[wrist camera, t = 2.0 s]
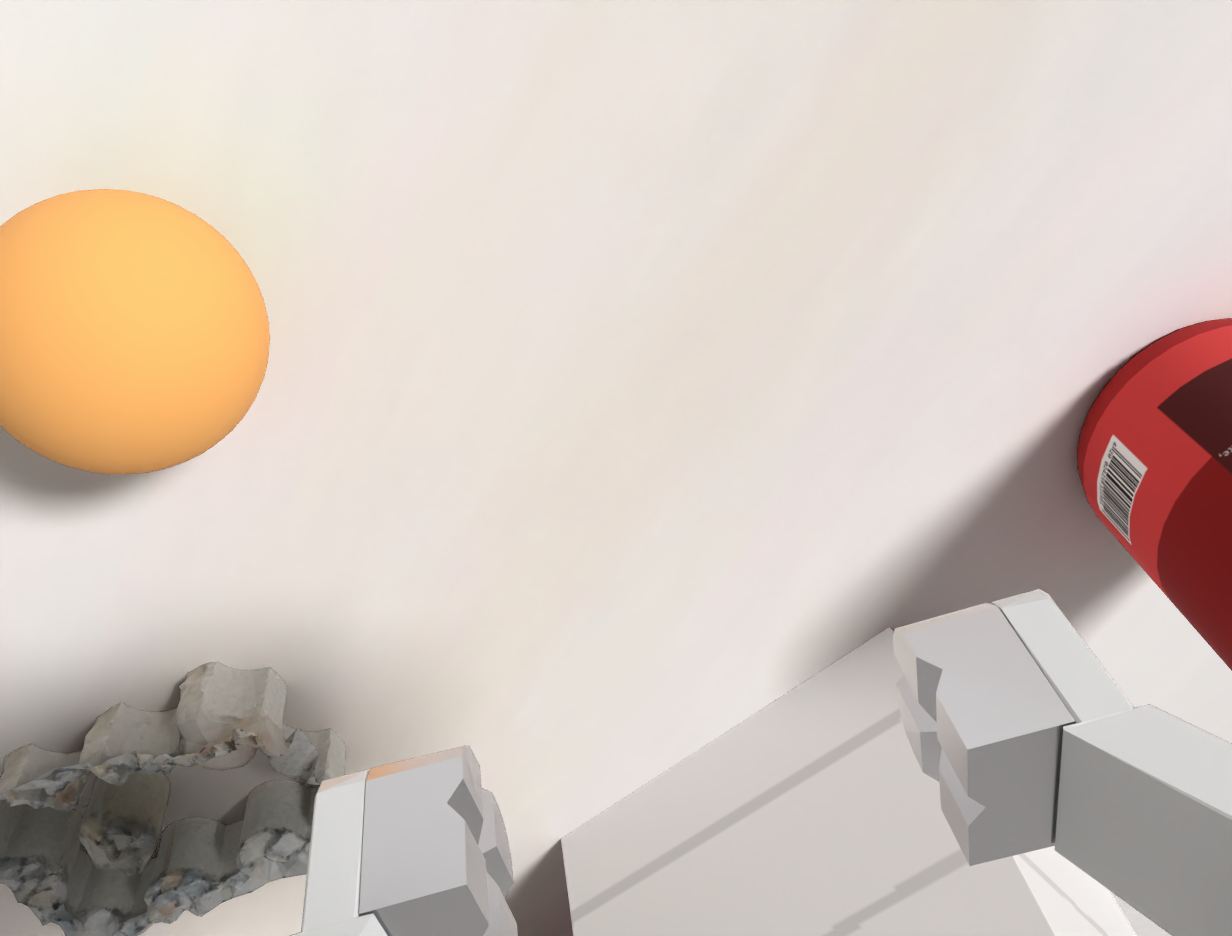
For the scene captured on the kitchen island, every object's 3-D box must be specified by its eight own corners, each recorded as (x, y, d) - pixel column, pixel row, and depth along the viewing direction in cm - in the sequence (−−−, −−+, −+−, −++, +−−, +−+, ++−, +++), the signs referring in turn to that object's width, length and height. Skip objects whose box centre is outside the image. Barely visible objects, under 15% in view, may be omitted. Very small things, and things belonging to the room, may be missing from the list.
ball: (-45, 190, 23) (-172, 309, 18) (218, 119, 23) (164, 219, 18) (92, 412, 26) (18, 563, 21) (321, 351, 26) (298, 487, 21)
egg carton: (261, 628, 32) (244, 730, 28) (379, 768, 36) (376, 871, 33) (-43, 751, 32) (-96, 865, 29) (108, 874, 37) (77, 985, 33)
